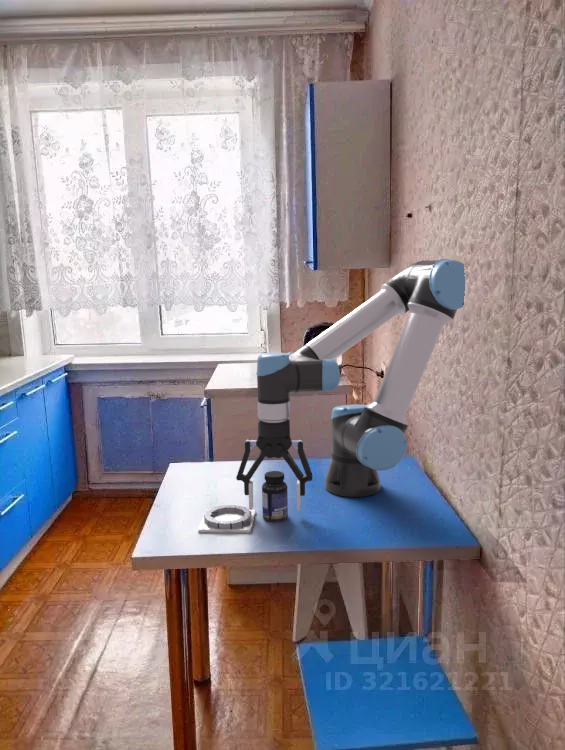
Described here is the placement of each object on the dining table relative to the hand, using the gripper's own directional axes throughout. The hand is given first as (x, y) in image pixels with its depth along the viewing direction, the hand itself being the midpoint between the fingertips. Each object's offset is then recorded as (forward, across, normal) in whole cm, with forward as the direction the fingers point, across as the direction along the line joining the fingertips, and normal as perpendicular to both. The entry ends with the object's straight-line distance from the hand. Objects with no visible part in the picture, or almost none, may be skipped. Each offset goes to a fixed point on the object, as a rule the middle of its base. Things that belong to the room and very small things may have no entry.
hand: (274, 507), depth 143 cm
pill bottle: (+3, 0, 0) cm, 3 cm away
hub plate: (+2, +11, +3) cm, 12 cm away
